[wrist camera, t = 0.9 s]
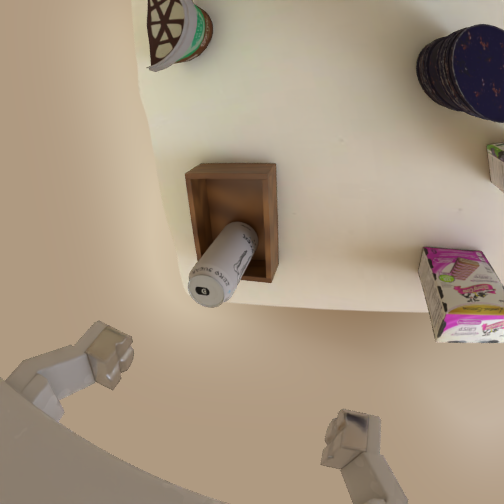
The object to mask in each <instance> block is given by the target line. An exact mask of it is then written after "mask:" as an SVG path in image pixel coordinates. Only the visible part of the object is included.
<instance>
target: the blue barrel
mask: <svg viewBox="0 0 504 504" xmlns="http://www.w3.org/2000/svg"><path fill="white" fill-rule="evenodd" d="M416 70H417V76H418V80H419V83H420V85H421V87H422V89H423V90H424V92H425V93H426V94H427V95H428V96H429V97H430V98H431V99H432V100H433V101H434V102H436V103H437V104H439V105H441V106H444V107H446V108H449V109H452V110H455V111H461V112H465V113H467V114H469V115H472V116H475V117H479V118H482V119H486V120H491V121H494V122H498V123H504V30H502V29H500V28H498V27H495V26H492V25H486V24H479V25H474V26H471V27H467V28H463V29H461V30H458V31H456V32H453V33H452V34H450V35H448V36H447V37H442V38H439V39H436V40H434V41H433V42H431V43H430V44H428V45H427V46H425V47H424V48H423V49H422V51H421V52H420V54H419V56H418V59H417V66H416Z"/></svg>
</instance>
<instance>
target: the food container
mask: <svg viewBox="0 0 504 504" xmlns="http://www.w3.org/2000/svg"><path fill="white" fill-rule="evenodd" d="M147 30H148V37H149V44H150V57H151V66H149V67H146V68H149V70H151V71H154V72H157V71H160V70H163V69H165V68H167V67H169V66H171V65H172V64H175V63H181V62H186V61H190V60H192V59H194V58H195V57H197V56H199V55H200V54H201V53H202V52H203V51H204V50H205V49H206V48H207V46H208V44H209V43H210V41H211V38H212V34H213V25H212V21H211V19H210V17H209V15H208V14H207V13H206V12H205V11H204V10H202V9H201V8H199V7H198V6H196V5H195V4H193V2H192V0H148V14H147Z"/></svg>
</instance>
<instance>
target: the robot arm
mask: <svg viewBox="0 0 504 504" xmlns="http://www.w3.org/2000/svg"><path fill="white" fill-rule="evenodd" d="M132 342H133V341H132V336H129V335H127V334H125V333H123V332H121V331H119V330H117V329H115V328H113V327H111V326H109V325H107V324H105V323H103V322H101V321H97V322H95V323H94V324H93V325H92V326H91V327H90V329H88V331H87V332H86V333H85V334H84V335H83V336H82V337H81V338H80V339H79V341H78V342H77V343H76V344H75V345H74V346H72V345H69V346H66V347H63V348H60V349H57V350H54V351H51V352H48V353H45V354H42V355H39V356H35V357H33V358H29V359H26V360H24V361H22V363H21V364H20V365H19V366H18V367H17V368H16V369H15V370H14V371H13V372H12V374H11V375H10V376H9V377H8V378H7V379H6V380H5V381H4V380H3V379H2V378H1V377H0V504H229V503H226V502H222V501H219V500H216V499H213V498H210V497H207V496H204V495H201V494H199V493H196V492H193V491H191V490H188V489H185V488H182V487H180V486H177V485H175V484H173V483H170V482H168V481H166V480H163V479H161V478H159V477H156V476H154V475H152V474H150V473H148V472H145V471H143V470H141V469H139V468H137V467H135V466H133V465H131V464H129V463H127V462H125V461H123V460H121V459H119V458H117V457H115V456H114V455H112V454H110V453H108V452H106V451H105V450H103V449H101V448H99V447H97V446H96V445H94V444H92V443H91V442H89V441H87V440H86V439H84V438H82V437H81V436H79V435H77V434H76V433H74V432H73V431H71V430H70V429H68V428H66V427H65V426H64V425H62V424H61V423H59V422H58V421H59V420H60V418H61V417H62V416H63V414H64V409H63V407H62V405H61V404H60V402H59V400H61V399H63V398H65V397H67V396H69V395H71V394H73V393H75V392H77V391H79V390H81V389H83V388H86V387H88V386H90V385H92V384H94V383H95V382H97V383H99V384H101V385H103V386H105V387H107V388H109V389H111V390H113V389H114V388H115V387H116V385H117V384H118V383H119V381H120V379H121V373H122V372H124V371H127V370H128V368H129V367H130V365H131V363H132V360H133V356H134V351H133V348H132V347H131V346H130V345H131V344H132ZM380 432H381V419H380V417H379V416H374V415H368V414H366V413H360V412H355V411H351V410H346V409H342V410H340V411H339V413H338V417H337V418H335V419H333V420H332V421H331V423H330V424H329V427H328V429H327V432H326V436H325V442H326V443H327V447H326V448H325V449H324V450H323V454H322V460H321V465H323V466H327V467H332V468H337V469H341V470H340V471H341V473H342V476H343V478H344V481H345V483H346V486H347V489H348V492H349V494H350V497H351V500H352V502H353V504H408V499H407V497H406V496H405V494H404V492H403V490H402V488H401V487H400V485H399V483H398V481H397V479H396V477H395V476H394V474H393V472H392V470H391V468H390V467H389V465H388V463H387V461H386V460H385V458H384V456H383V455H380V434H381V433H380Z"/></svg>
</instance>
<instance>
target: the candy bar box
mask: <svg viewBox="0 0 504 504" xmlns="http://www.w3.org/2000/svg"><path fill="white" fill-rule="evenodd" d="M418 274H419V277H420V280H421V284H422V287H423V291H424V295H425V299H426V302H427V307H428V310H429V314H430V319H431V323H432V328H433V332H434V337H435V341H436V342H449V343H451V342H452V343H504V287H503V285H502V283H501V282H500V280H499V278H498V277H497V275H496V273H495V272H494V270H493V268H492V267H491V265H490V263H489V262H488V260H487V259H486V257H485V255H484V254H483V252H482V251H468V250H455V249H442V248H429V247H423V251H422V258H421V262H420V266H419V270H418Z"/></svg>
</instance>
